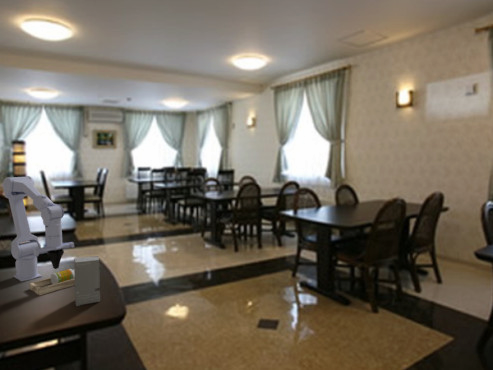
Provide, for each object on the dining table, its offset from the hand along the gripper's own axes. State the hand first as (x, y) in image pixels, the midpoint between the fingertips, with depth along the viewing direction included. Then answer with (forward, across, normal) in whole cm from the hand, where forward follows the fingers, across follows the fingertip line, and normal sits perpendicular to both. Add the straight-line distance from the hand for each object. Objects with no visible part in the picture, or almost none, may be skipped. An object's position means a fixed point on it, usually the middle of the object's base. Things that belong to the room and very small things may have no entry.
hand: (55, 268), depth 138 cm
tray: (+7, +2, 0) cm, 8 cm away
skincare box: (+8, +1, -24) cm, 25 cm away
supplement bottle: (+5, -1, 0) cm, 5 cm away
